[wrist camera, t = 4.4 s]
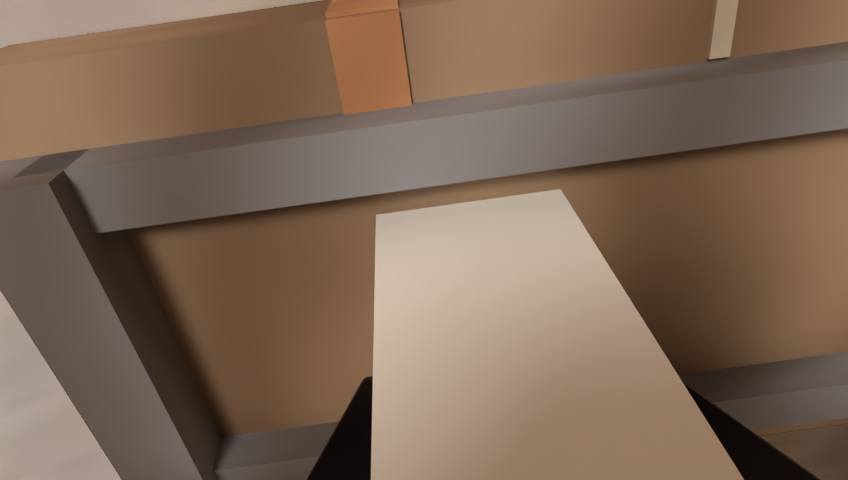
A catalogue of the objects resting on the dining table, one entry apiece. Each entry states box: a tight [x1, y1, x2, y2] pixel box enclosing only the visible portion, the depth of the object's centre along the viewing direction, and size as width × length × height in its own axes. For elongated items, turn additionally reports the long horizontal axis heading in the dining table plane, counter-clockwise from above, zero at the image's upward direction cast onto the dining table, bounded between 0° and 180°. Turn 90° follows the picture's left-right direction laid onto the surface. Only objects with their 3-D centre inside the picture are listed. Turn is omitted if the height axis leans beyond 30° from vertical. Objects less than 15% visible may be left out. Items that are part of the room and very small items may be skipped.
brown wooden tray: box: [0, 0, 848, 480], centre depth 10 cm, size 22×10×3 cm, turn 97°
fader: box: [371, 189, 744, 480], centre depth 8 cm, size 3×4×6 cm
